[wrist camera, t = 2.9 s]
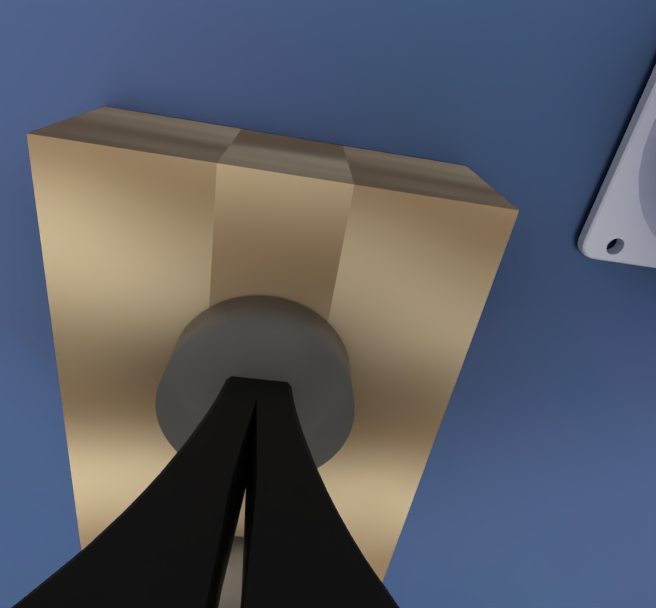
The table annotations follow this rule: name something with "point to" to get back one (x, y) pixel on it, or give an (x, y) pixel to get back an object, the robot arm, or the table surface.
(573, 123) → the table surface
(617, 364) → the table surface
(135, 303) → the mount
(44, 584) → the robot arm
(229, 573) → the plunger
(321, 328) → the plunger
